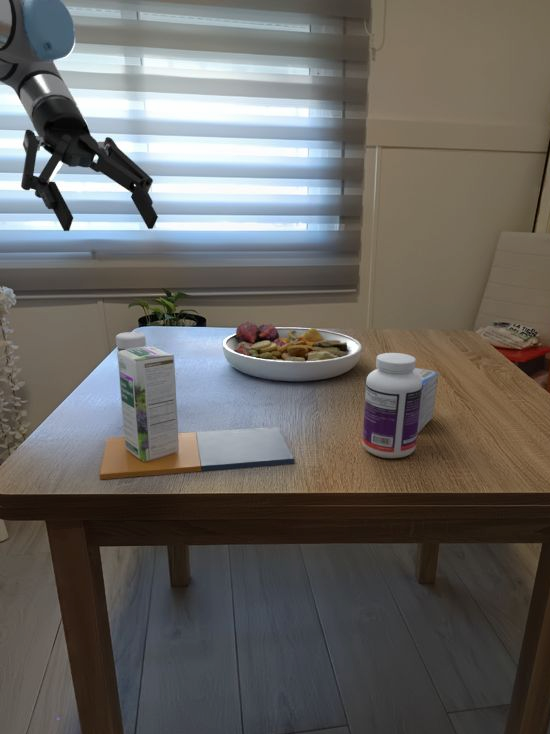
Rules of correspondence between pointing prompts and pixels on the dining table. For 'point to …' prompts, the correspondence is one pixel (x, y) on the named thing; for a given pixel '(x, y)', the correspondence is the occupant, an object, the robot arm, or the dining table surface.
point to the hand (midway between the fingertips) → (113, 223)
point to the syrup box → (148, 402)
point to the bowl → (290, 352)
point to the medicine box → (426, 396)
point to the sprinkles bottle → (130, 340)
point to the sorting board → (201, 453)
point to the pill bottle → (392, 406)
